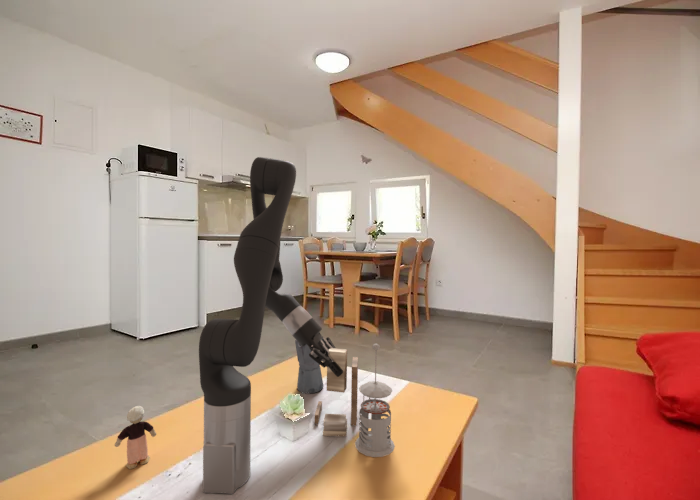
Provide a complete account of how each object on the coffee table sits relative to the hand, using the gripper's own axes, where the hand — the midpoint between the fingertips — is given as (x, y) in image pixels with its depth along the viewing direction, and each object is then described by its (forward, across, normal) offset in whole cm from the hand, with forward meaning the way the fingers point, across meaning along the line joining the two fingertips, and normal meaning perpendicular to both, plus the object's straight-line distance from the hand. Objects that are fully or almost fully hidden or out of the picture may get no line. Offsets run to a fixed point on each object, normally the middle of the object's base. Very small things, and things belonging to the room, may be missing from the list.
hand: (342, 372), depth 94 cm
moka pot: (-1, +18, +20) cm, 27 cm away
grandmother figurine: (-18, -28, +38) cm, 51 cm away
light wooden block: (+2, 0, +5) cm, 5 cm away
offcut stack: (+9, -6, +10) cm, 15 cm away
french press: (+17, -8, +2) cm, 19 cm away
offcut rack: (+9, +1, +10) cm, 14 cm away
